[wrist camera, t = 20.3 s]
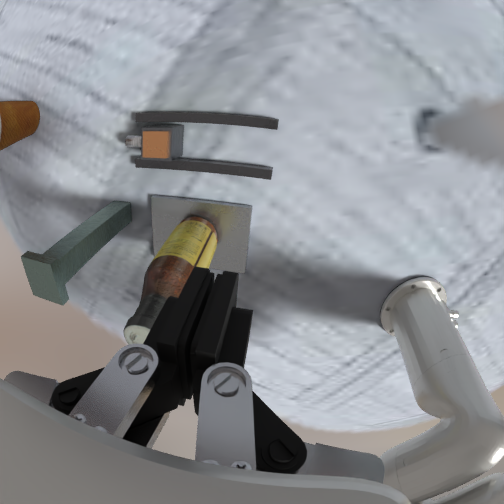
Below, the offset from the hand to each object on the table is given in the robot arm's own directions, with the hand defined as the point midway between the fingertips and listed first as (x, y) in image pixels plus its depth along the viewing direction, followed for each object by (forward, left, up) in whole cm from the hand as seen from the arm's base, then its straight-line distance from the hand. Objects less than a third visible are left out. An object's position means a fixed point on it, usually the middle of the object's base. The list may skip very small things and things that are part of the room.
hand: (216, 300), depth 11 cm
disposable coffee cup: (+41, -7, -27) cm, 50 cm away
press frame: (+11, +5, -27) cm, 30 cm away
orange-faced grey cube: (+14, -2, -27) cm, 30 cm away
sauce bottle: (+8, +11, -26) cm, 30 cm away
